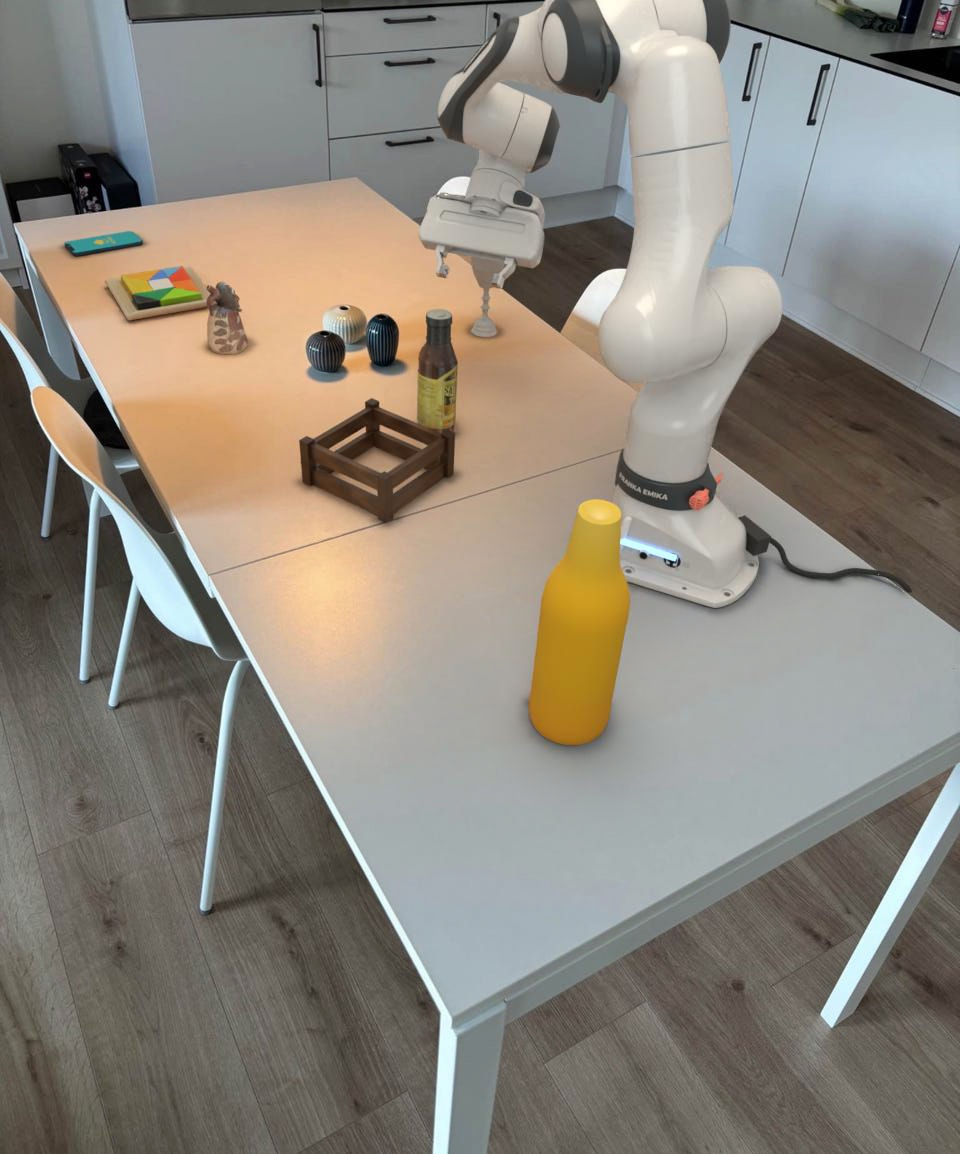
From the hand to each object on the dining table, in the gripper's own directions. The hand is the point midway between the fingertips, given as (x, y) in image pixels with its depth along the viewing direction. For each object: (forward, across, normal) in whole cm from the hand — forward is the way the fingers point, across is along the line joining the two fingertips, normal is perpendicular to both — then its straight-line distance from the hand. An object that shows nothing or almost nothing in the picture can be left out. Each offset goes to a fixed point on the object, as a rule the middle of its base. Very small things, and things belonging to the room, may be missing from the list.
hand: (468, 281), depth 155 cm
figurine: (+15, -46, +14) cm, 50 cm away
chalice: (-3, -6, +32) cm, 33 cm away
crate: (+35, -3, -6) cm, 36 cm away
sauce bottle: (+23, 0, +6) cm, 24 cm away
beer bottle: (+61, +38, -31) cm, 78 cm away
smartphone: (-6, -95, +34) cm, 101 cm away
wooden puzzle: (+6, -68, +22) cm, 72 cm away
